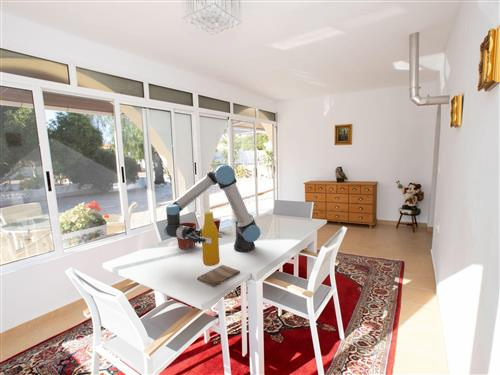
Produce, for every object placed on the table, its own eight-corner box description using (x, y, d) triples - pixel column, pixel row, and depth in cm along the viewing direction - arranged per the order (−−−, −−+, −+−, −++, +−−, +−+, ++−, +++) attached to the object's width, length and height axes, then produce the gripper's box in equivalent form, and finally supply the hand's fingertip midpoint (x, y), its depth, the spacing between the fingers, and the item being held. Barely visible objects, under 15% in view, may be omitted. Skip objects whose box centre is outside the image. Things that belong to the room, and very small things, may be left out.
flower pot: (192, 250, 188) (191, 229, 186) (171, 249, 192) (169, 228, 189) (201, 242, 204) (200, 222, 202) (181, 242, 208) (180, 222, 205)
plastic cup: (222, 230, 236) (221, 217, 234) (221, 234, 225) (220, 220, 223) (209, 230, 235) (209, 217, 234) (208, 234, 225) (207, 220, 223)
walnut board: (222, 266, 161) (222, 264, 161) (239, 272, 153) (239, 270, 153) (197, 279, 146) (196, 277, 146) (214, 287, 137) (214, 284, 137)
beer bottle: (212, 258, 155) (209, 209, 151) (223, 262, 149) (220, 211, 145) (199, 263, 148) (196, 213, 144) (210, 267, 142) (207, 215, 138)
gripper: (198, 233, 166) (228, 238, 154) (172, 244, 147) (203, 251, 136) (198, 222, 164) (227, 226, 153) (171, 231, 146) (203, 237, 135)
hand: (216, 238), depth 144 cm, fingers closed on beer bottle, 9 cm apart
